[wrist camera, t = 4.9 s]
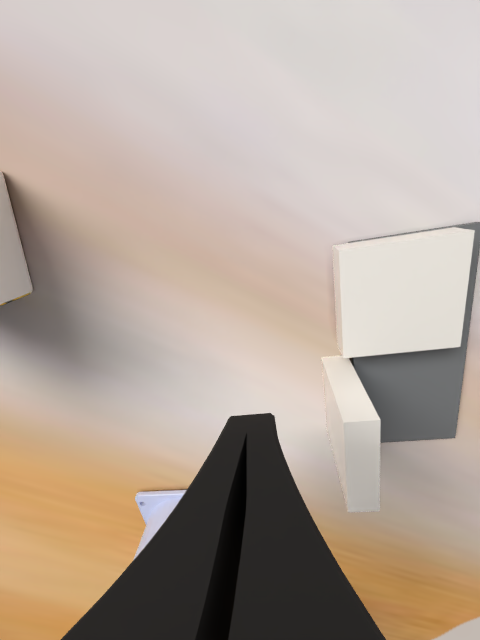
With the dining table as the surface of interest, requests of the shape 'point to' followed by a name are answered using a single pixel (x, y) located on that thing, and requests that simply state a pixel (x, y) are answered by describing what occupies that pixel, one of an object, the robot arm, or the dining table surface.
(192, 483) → the robot arm
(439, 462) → the dining table surface
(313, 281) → the dining table surface
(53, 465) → the dining table surface
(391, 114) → the dining table surface
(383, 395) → the mat
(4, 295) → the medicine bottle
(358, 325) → the tile near
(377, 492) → the tile far
